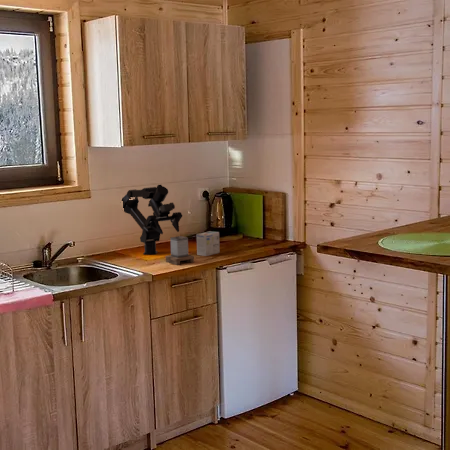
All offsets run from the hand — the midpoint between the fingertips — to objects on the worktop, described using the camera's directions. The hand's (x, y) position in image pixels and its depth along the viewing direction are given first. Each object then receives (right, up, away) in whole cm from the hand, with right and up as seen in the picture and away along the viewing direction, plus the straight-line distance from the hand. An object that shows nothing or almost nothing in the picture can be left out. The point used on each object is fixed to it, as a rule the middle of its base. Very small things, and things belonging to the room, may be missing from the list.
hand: (170, 232), depth 337 cm
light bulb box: (+18, -11, +14) cm, 26 cm away
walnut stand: (+5, -14, -4) cm, 15 cm away
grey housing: (+5, -11, -4) cm, 13 cm away
